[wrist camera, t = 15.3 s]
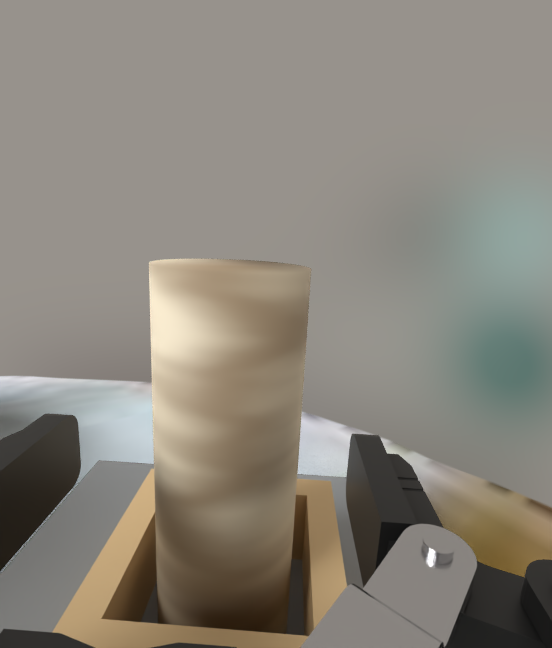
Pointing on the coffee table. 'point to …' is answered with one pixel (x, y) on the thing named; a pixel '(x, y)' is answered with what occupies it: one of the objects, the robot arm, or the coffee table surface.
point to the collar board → (141, 569)
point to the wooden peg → (226, 437)
